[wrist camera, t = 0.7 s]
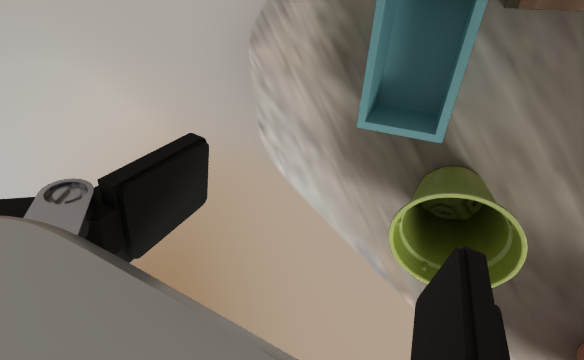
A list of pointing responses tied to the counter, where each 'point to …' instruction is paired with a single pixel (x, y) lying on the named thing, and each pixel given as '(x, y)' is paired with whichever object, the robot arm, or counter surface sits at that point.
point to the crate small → (417, 65)
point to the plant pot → (456, 227)
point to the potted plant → (580, 352)
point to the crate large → (547, 4)
